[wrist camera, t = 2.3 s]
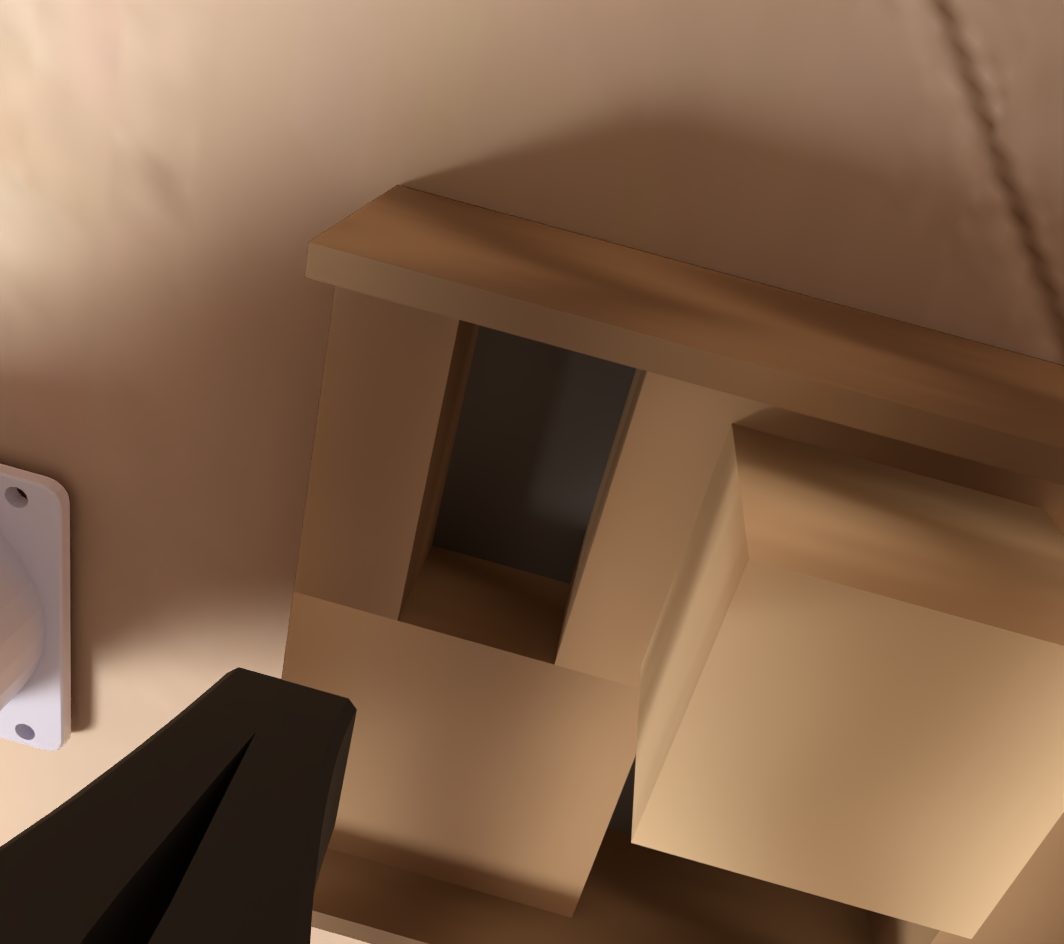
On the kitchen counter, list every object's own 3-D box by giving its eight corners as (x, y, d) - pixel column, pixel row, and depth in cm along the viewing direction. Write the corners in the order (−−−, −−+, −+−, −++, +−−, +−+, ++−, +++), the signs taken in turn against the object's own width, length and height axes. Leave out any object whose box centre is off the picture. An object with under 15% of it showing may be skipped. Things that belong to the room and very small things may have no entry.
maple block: (640, 666, 17) (630, 843, 13) (731, 423, 14) (748, 559, 11) (909, 741, 17) (971, 939, 13) (1044, 508, 14) (1163, 674, 11)
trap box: (306, 748, 23) (219, 924, 19) (397, 184, 17) (294, 250, 12) (1091, 970, 23) (1191, 1203, 18) (1500, 484, 16) (1810, 665, 12)
